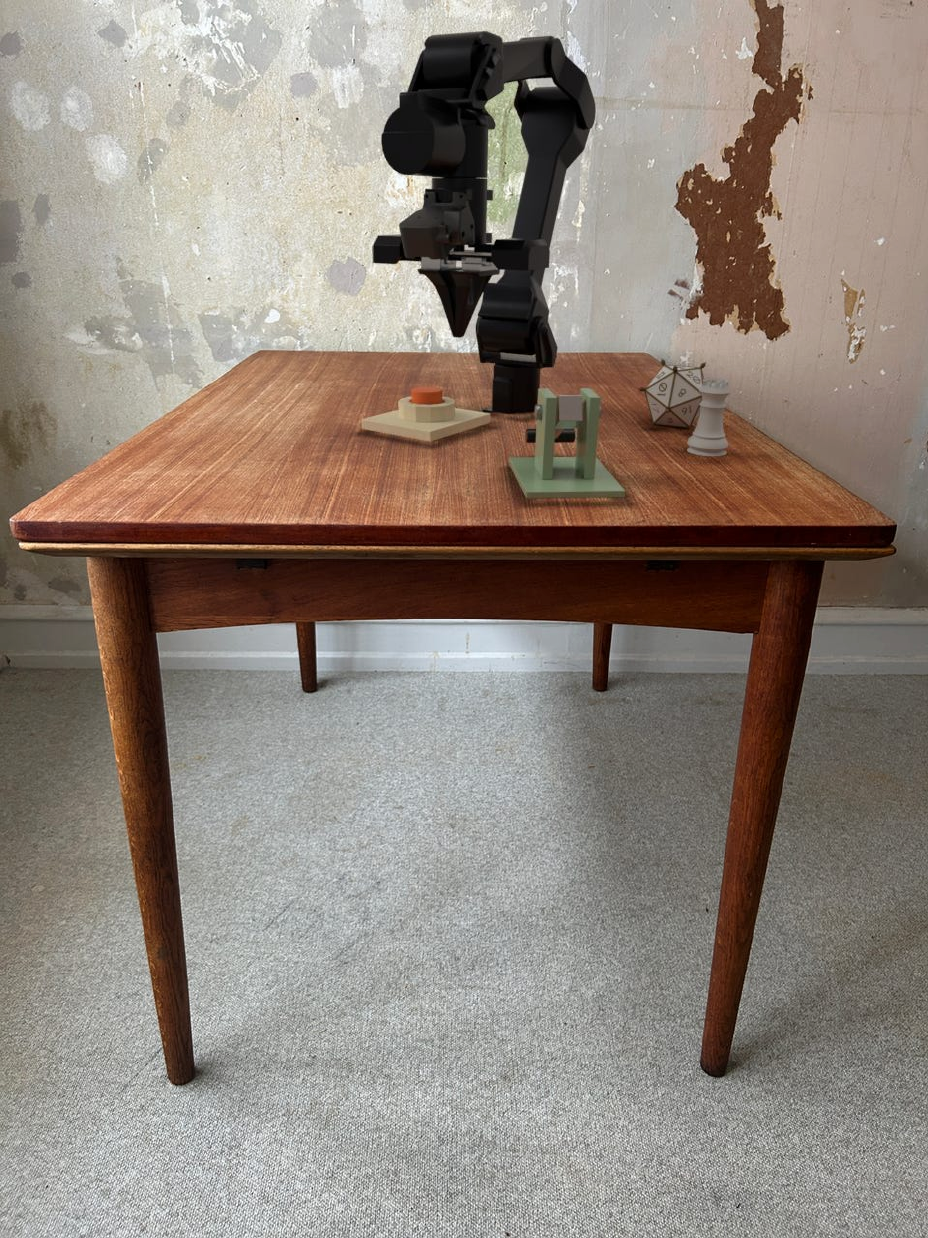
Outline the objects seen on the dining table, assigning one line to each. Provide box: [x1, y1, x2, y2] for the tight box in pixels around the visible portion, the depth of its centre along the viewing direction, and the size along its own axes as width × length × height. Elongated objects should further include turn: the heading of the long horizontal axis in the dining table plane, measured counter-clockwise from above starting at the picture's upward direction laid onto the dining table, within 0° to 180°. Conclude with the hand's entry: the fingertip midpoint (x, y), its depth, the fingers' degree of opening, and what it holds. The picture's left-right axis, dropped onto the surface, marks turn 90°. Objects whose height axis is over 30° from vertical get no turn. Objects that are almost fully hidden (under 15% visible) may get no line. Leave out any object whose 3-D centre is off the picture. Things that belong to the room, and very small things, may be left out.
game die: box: [637, 358, 707, 430], centre depth 106 cm, size 9×8×10 cm
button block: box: [360, 395, 491, 442], centre depth 105 cm, size 12×10×4 cm
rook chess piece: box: [686, 378, 732, 457], centre depth 94 cm, size 4×4×8 cm
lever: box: [524, 394, 583, 444], centre depth 87 cm, size 11×5×2 cm, turn 5°
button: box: [410, 386, 443, 405], centre depth 104 cm, size 4×4×2 cm
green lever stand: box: [508, 387, 626, 499], centre depth 84 cm, size 12×9×9 cm
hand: (458, 336), depth 97 cm, fingers closed
